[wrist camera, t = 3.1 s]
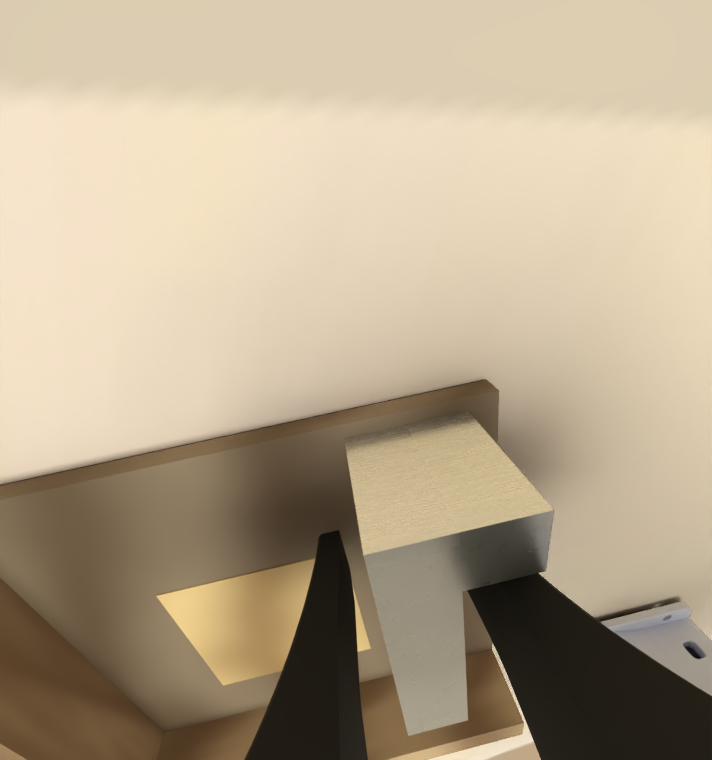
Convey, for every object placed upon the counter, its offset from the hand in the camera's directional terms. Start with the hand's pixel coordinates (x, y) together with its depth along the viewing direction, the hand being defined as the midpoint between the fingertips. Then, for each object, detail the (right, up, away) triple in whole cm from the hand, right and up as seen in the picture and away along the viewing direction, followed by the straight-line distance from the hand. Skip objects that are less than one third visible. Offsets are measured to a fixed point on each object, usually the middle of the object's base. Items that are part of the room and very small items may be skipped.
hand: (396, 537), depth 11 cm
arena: (-4, -3, +3) cm, 6 cm away
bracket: (+1, 0, +1) cm, 1 cm away
